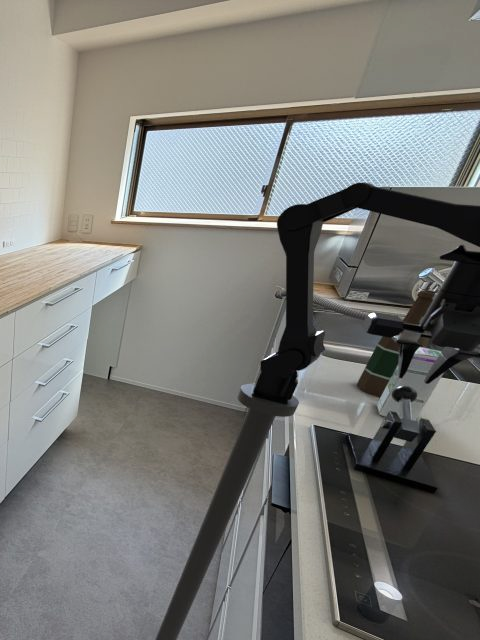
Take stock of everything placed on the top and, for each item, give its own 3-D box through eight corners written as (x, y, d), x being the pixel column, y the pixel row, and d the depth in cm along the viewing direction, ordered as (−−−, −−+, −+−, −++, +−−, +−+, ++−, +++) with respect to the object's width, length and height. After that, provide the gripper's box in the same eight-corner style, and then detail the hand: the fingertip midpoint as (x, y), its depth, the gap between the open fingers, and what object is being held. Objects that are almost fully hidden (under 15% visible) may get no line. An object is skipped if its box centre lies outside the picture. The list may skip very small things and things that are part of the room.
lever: (387, 392, 77) (397, 380, 75) (410, 397, 75) (421, 385, 73) (388, 438, 70) (399, 426, 68) (414, 444, 69) (425, 432, 66)
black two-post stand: (345, 437, 79) (366, 397, 75) (415, 457, 74) (442, 415, 70) (353, 469, 70) (378, 425, 66) (434, 493, 65) (466, 448, 61)
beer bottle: (355, 380, 103) (404, 285, 93) (396, 390, 99) (454, 292, 88) (356, 391, 98) (408, 291, 87) (400, 402, 94) (461, 298, 83)
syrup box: (414, 424, 85) (454, 360, 78) (376, 414, 88) (412, 352, 81) (409, 413, 89) (447, 351, 82) (374, 404, 92) (407, 344, 85)
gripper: (397, 291, 64) (351, 381, 71) (583, 316, 55) (509, 416, 62) (383, 280, 72) (343, 361, 80) (543, 299, 63) (481, 389, 70)
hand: (412, 380), depth 73 cm, fingers open, 3 cm apart
